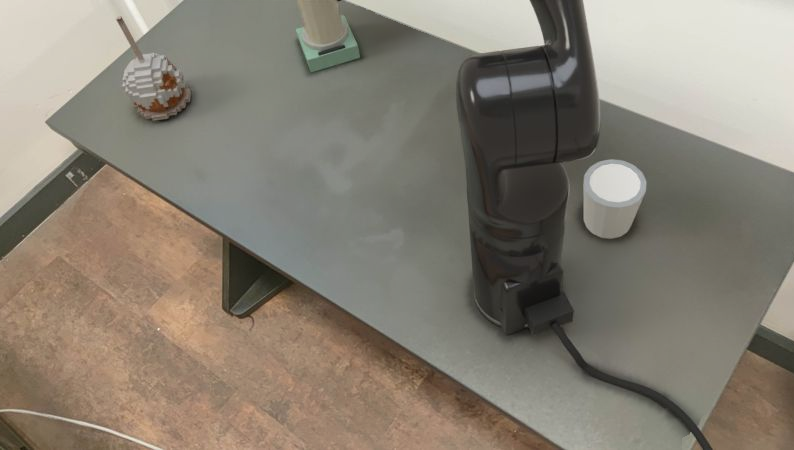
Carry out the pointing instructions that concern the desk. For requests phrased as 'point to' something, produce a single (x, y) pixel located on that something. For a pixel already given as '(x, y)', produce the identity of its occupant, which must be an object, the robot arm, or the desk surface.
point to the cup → (321, 20)
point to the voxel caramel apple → (153, 83)
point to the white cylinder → (612, 197)
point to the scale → (329, 49)
